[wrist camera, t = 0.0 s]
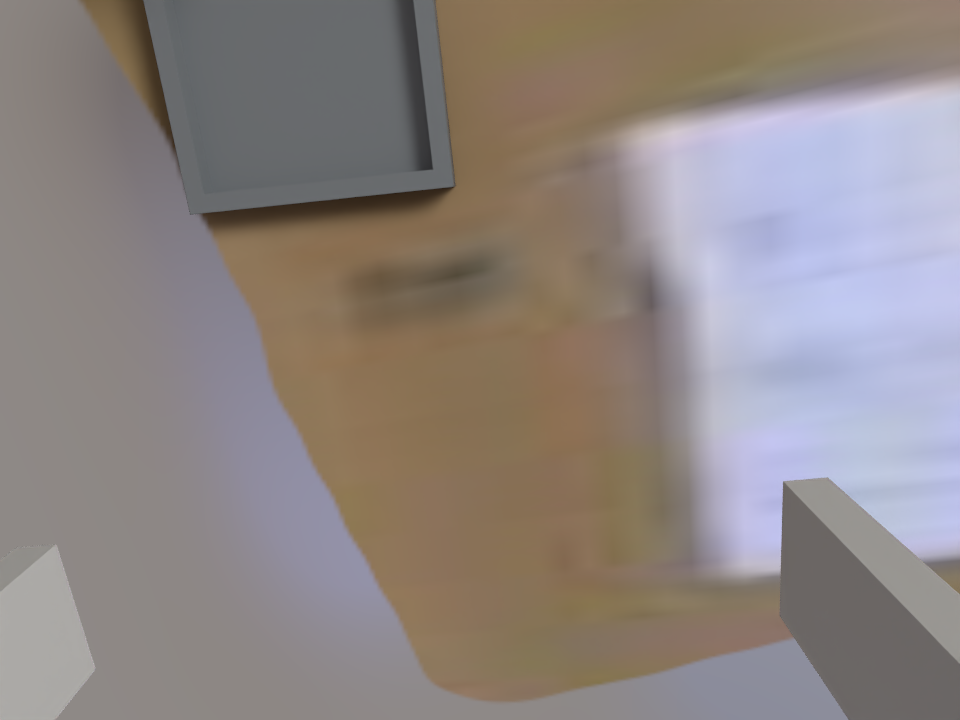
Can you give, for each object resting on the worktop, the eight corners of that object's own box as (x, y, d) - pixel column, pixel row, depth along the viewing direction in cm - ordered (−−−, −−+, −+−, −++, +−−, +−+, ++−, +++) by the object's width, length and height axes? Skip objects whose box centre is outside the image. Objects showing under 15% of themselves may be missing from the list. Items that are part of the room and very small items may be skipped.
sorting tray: (144, -74, 34) (123, -90, 32) (423, -109, 33) (419, -127, 31) (205, 212, 38) (190, 214, 36) (455, 186, 37) (453, 186, 35)
